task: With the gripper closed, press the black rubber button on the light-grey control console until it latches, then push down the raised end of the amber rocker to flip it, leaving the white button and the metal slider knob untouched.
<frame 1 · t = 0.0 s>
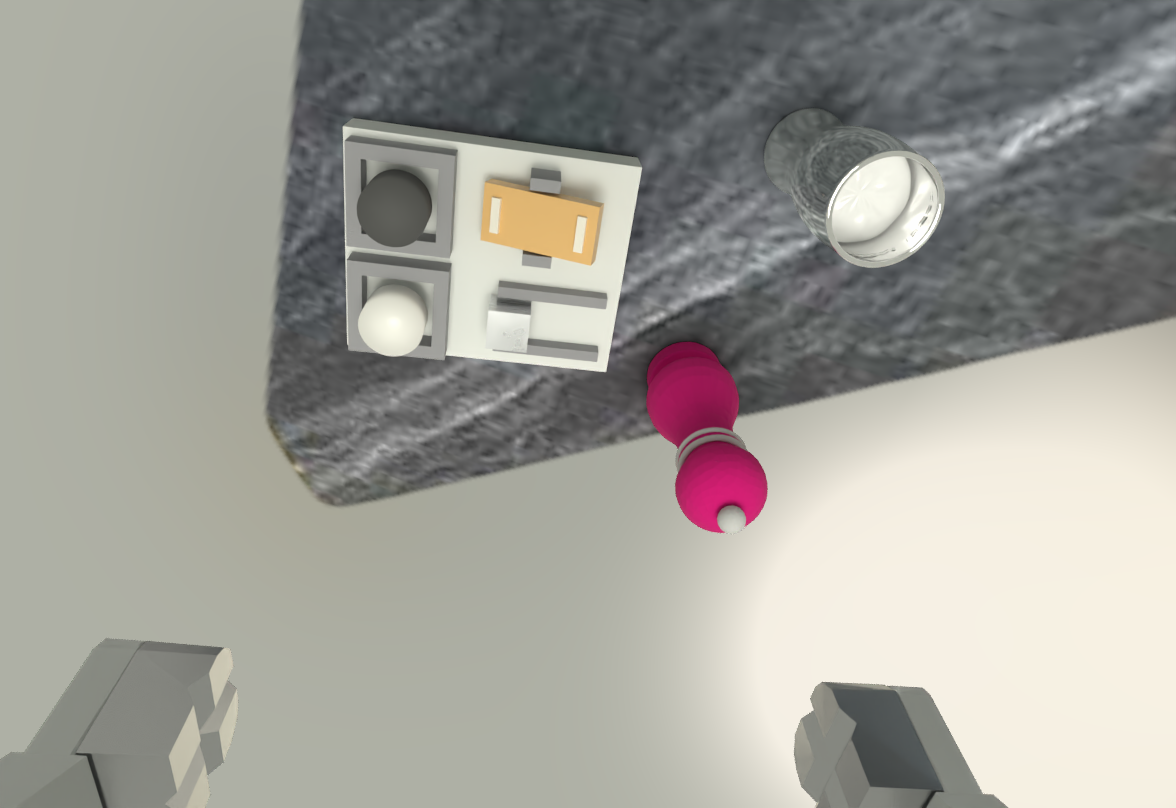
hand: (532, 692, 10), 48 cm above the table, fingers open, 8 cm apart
metal slider knob: (508, 323, 55), point 5 cm above the table, slide at 0.0 cm
console: (489, 247, 56), on the table
amber rocker: (540, 222, 50), point 5 cm above the table, hinge at 18.0°
pepper mill: (683, 373, 63), on the table
beer glass: (804, 151, 54), on the table
black button: (395, 208, 48), point 6 cm above the table, slide at 0.0 cm
white button: (393, 320, 52), point 6 cm above the table, slide at 0.0 cm
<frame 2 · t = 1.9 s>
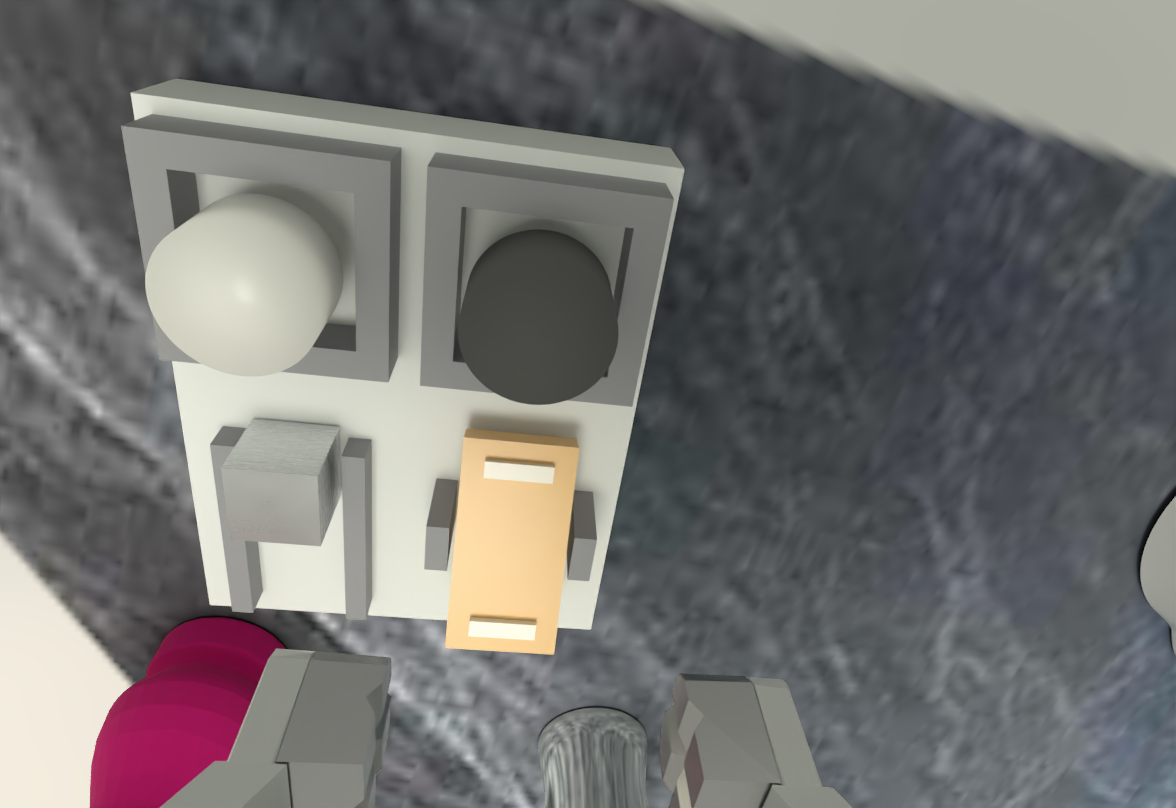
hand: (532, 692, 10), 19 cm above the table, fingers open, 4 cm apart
metal slider knob: (286, 481, 26), point 5 cm above the table, slide at 0.0 cm
console: (423, 379, 29), on the table
amber rocker: (510, 545, 27), point 5 cm above the table, hinge at 18.0°
pepper mill: (229, 656, 37), on the table
beer glass: (592, 738, 42), on the table
black button: (539, 317, 21), point 6 cm above the table, slide at 0.0 cm
white button: (250, 285, 21), point 6 cm above the table, slide at 0.0 cm
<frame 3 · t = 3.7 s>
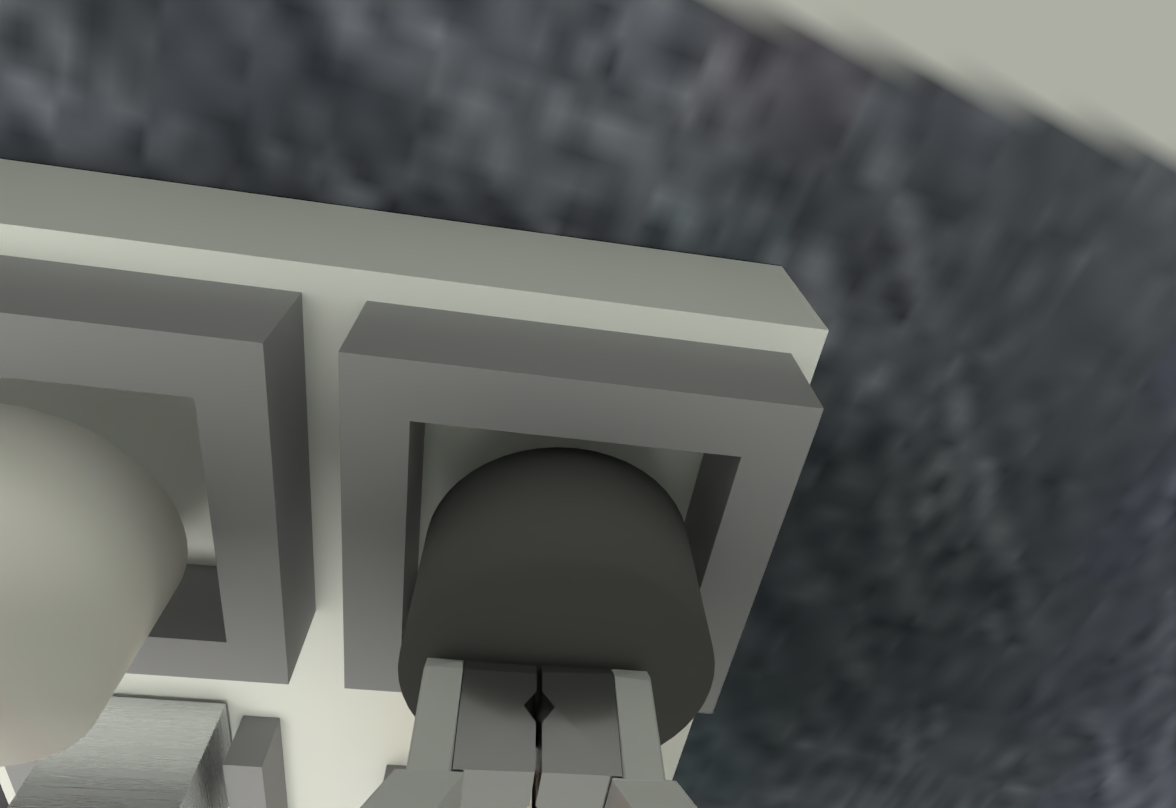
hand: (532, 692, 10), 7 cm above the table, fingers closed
metal slider knob: (130, 806, 16), point 5 cm above the table, slide at 0.0 cm
console: (371, 593, 19), on the table
black button: (557, 611, 11), point 6 cm above the table, slide at 0.4 cm, touching gripper
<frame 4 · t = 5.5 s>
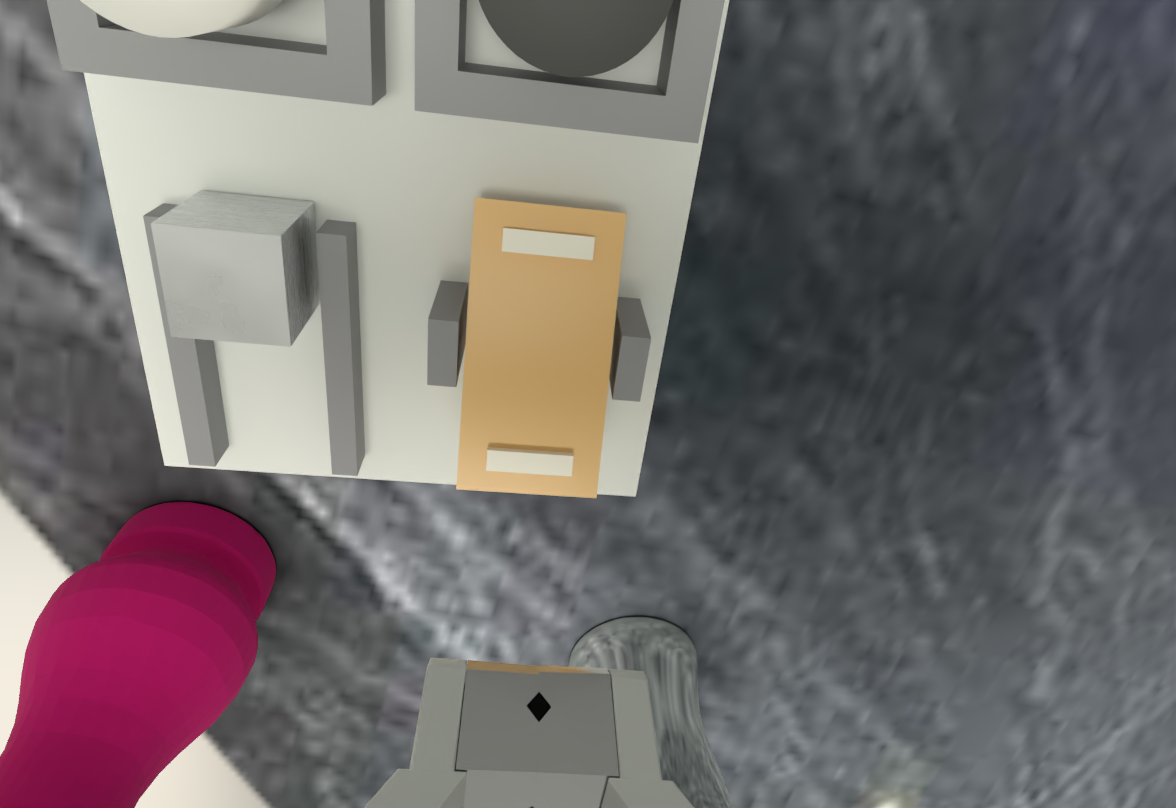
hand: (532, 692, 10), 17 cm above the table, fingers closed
metal slider knob: (244, 267, 20), point 5 cm above the table, slide at 0.0 cm
console: (421, 166, 23), on the table
amber rocker: (538, 353, 21), point 5 cm above the table, hinge at 18.0°
pepper mill: (201, 555, 31), on the table
beer glass: (632, 657, 36), on the table
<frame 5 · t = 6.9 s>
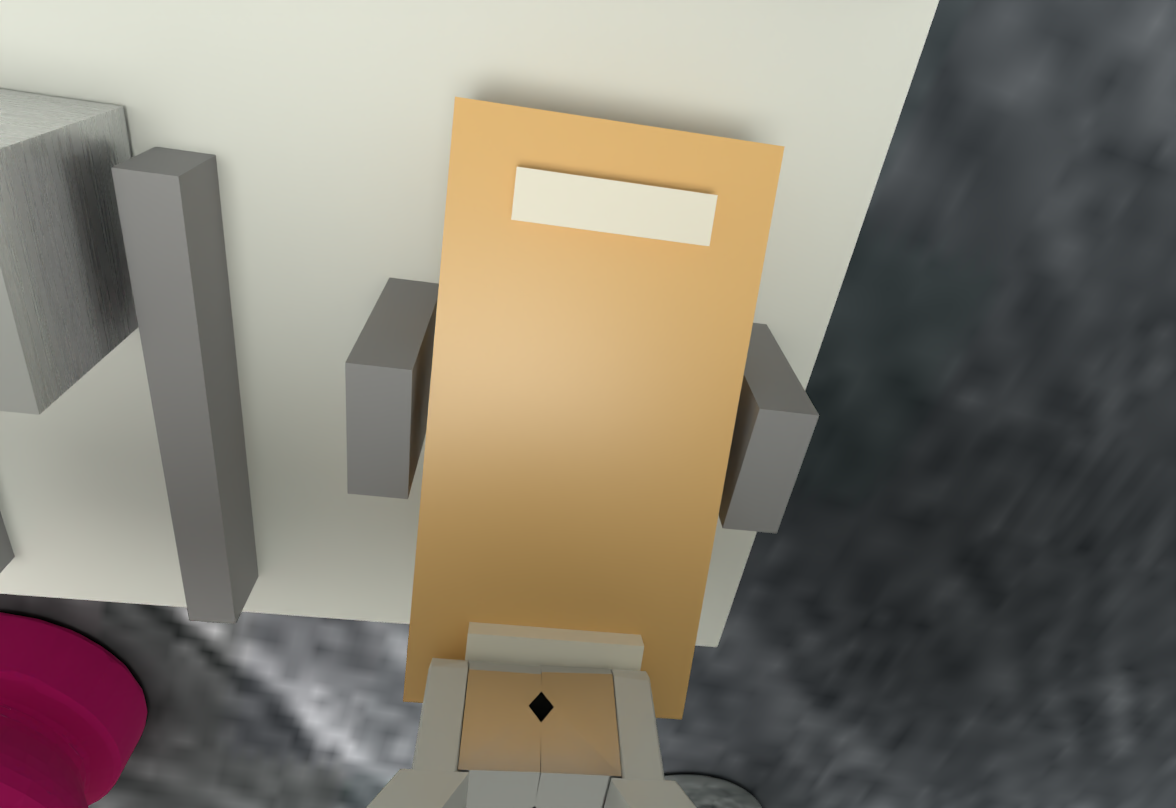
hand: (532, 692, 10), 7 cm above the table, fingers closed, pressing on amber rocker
console: (365, 66, 13), on the table
amber rocker: (578, 433, 10), point 5 cm above the table, hinge at 17.8°, touching gripper
pepper mill: (32, 684, 20), on the table
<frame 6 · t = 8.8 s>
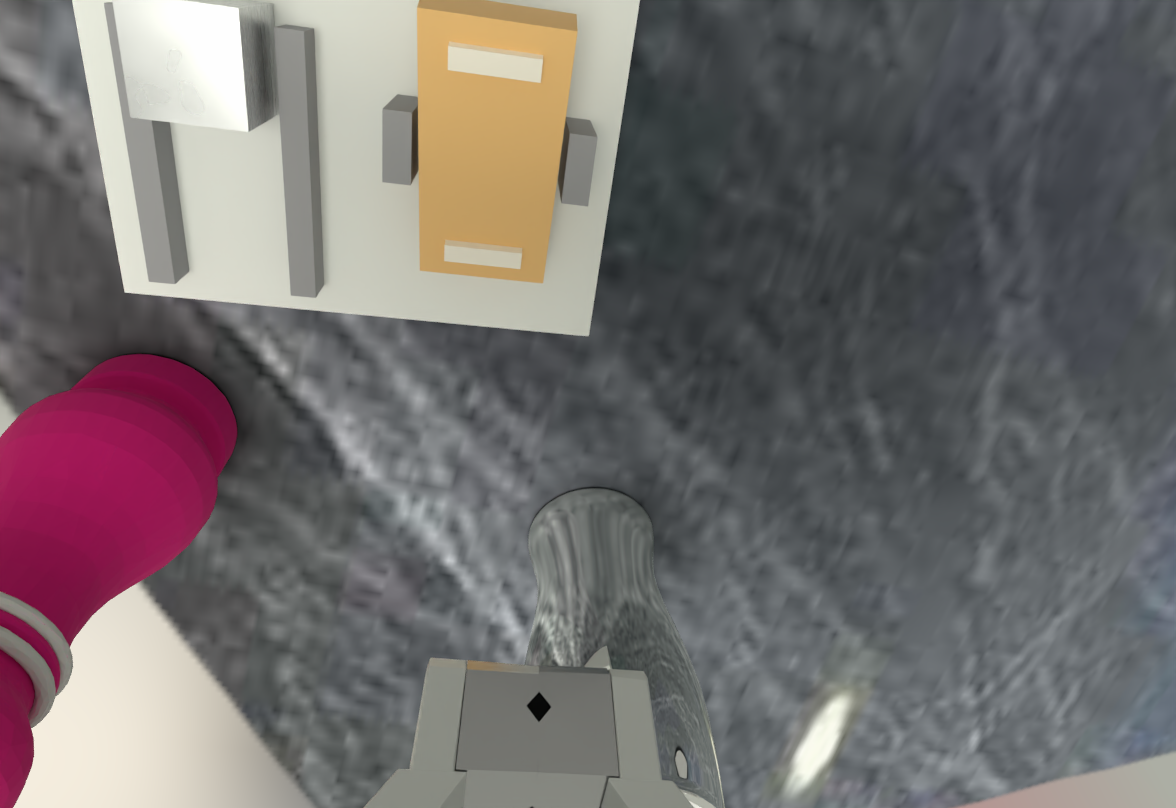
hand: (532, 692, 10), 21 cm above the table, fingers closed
metal slider knob: (204, 58, 21), point 5 cm above the table, slide at 0.0 cm
amber rocker: (490, 157, 22), point 5 cm above the table, hinge at -16.5°
pepper mill: (162, 416, 31), on the table
beer glass: (590, 534, 36), on the table
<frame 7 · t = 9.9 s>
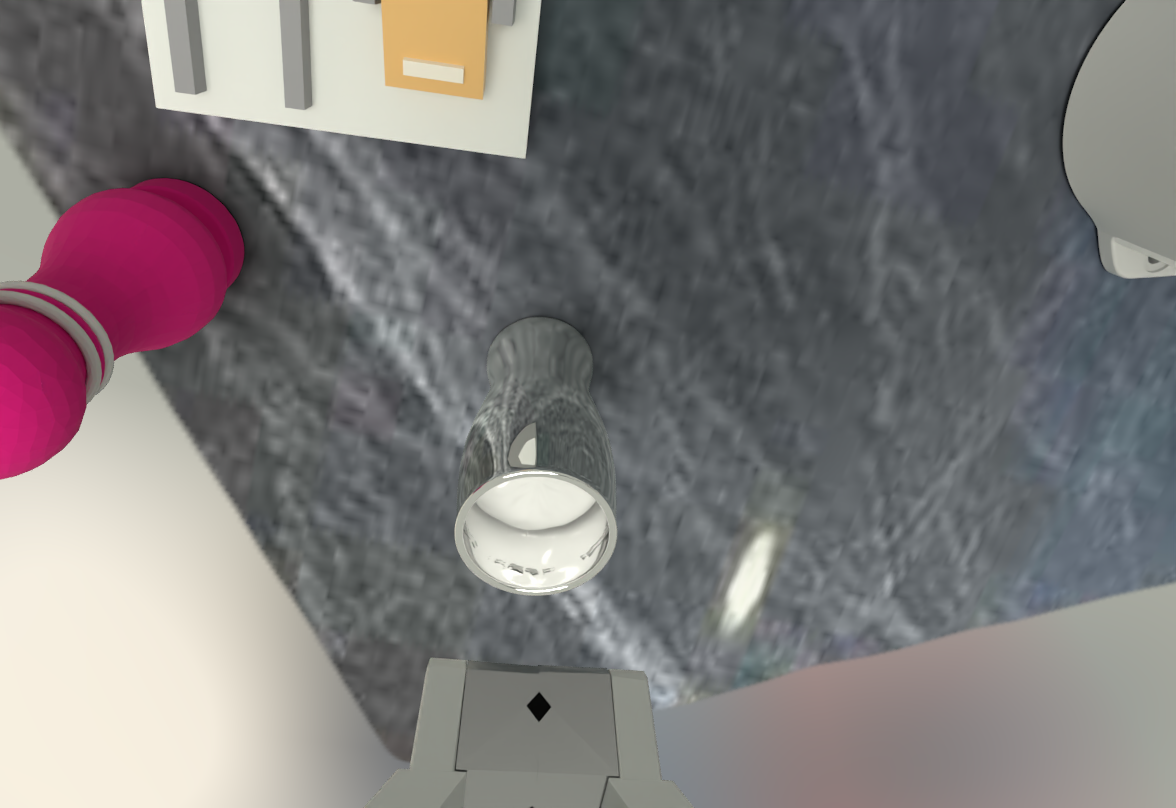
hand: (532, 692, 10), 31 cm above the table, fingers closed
pepper mill: (183, 237, 38), on the table
beer glass: (540, 362, 43), on the table
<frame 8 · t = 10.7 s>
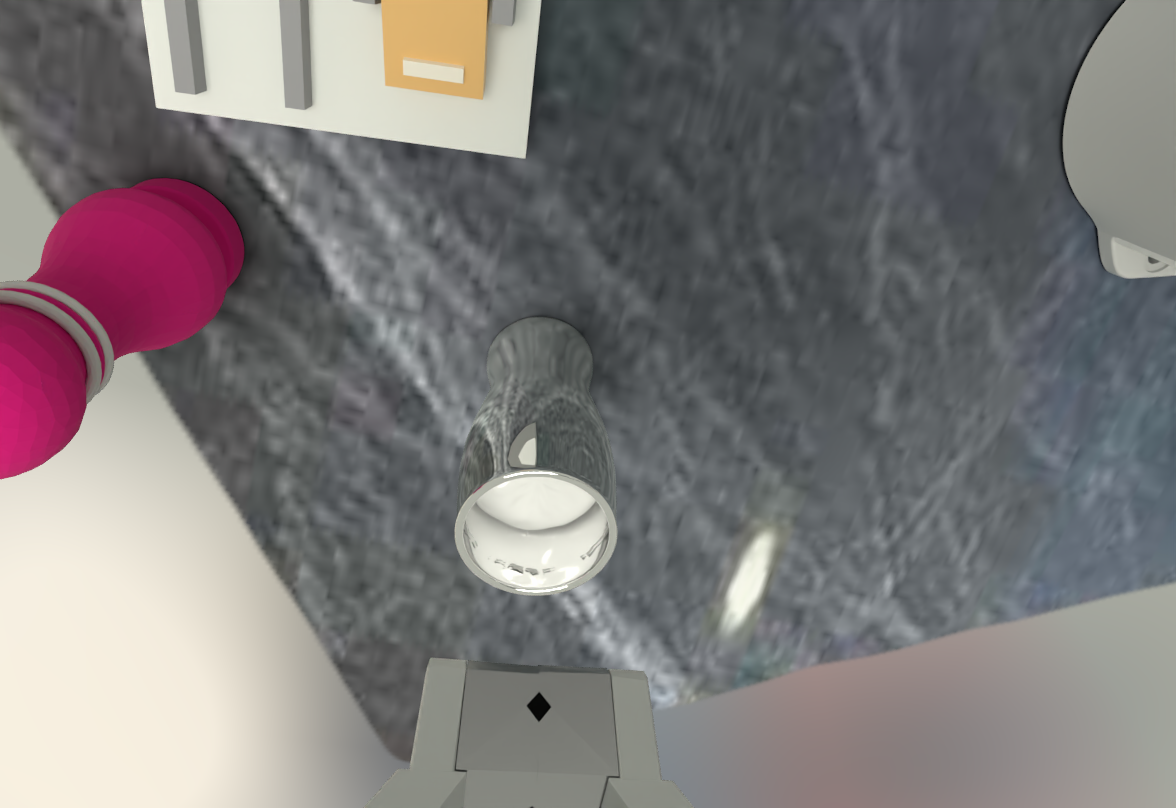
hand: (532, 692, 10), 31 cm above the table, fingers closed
pepper mill: (183, 237, 38), on the table
beer glass: (540, 362, 43), on the table
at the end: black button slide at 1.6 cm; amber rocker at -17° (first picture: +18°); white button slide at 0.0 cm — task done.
